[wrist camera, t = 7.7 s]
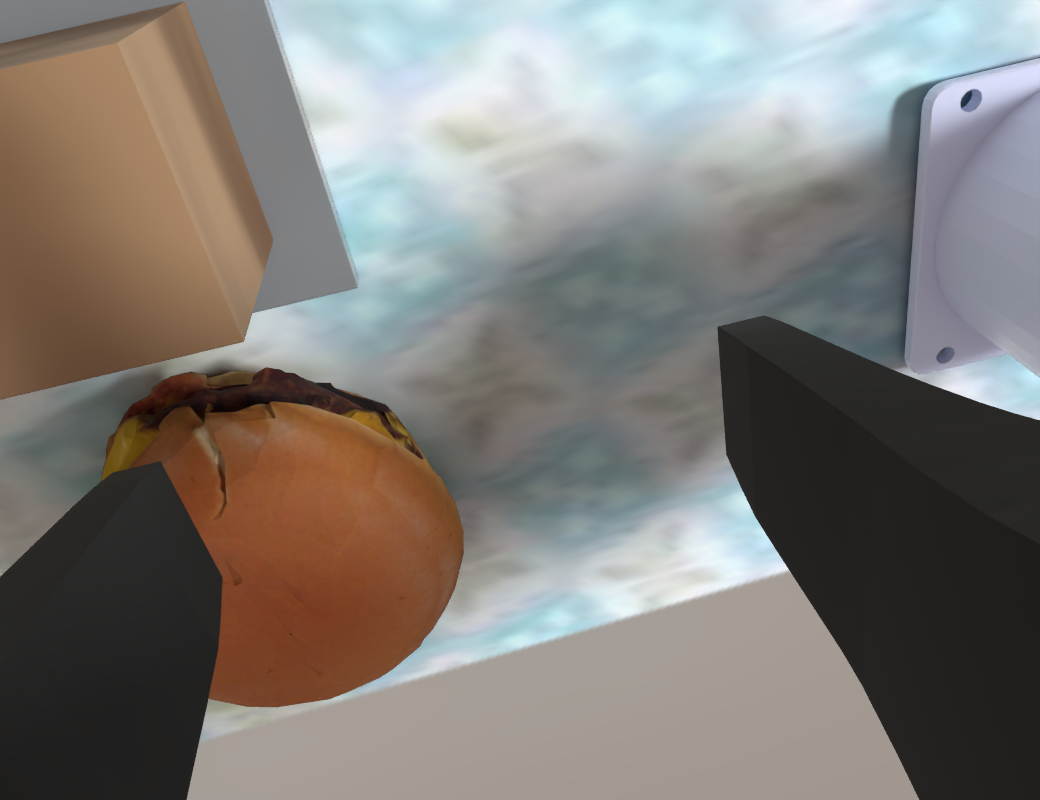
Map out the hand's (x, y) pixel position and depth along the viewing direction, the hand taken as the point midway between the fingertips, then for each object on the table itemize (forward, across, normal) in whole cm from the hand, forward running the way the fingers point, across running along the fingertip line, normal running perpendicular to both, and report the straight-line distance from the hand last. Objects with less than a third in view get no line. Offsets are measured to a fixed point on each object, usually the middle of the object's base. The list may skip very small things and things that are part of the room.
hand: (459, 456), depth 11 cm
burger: (+11, +6, +7) cm, 14 cm away
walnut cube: (+10, +6, -3) cm, 12 cm away
